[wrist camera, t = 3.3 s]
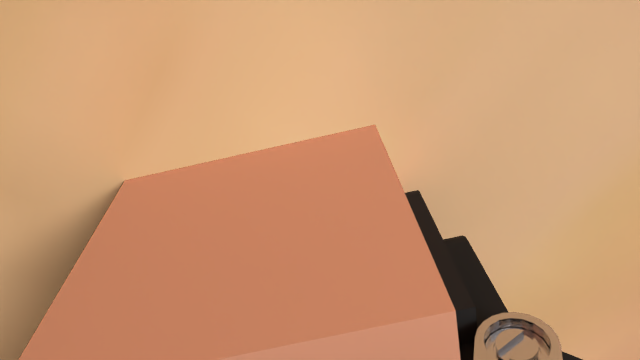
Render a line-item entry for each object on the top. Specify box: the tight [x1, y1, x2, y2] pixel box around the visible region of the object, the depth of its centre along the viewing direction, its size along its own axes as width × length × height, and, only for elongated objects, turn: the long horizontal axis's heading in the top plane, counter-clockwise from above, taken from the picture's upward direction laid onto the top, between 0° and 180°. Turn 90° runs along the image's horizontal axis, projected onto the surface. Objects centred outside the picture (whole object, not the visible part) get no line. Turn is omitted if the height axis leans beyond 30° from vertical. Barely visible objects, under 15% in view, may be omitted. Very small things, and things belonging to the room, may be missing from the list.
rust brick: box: [19, 125, 461, 360], centre depth 10 cm, size 6×6×6 cm
